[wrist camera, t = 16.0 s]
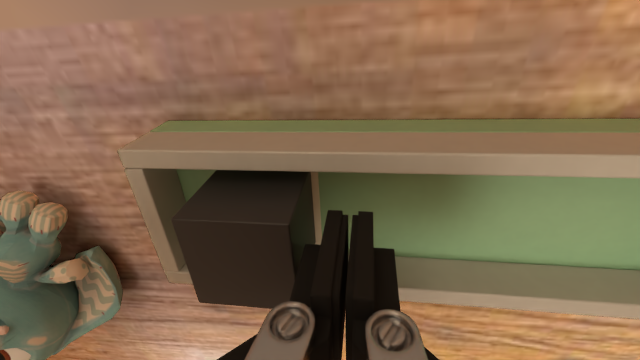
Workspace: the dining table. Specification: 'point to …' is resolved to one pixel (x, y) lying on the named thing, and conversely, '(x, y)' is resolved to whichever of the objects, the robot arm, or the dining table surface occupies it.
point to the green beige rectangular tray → (436, 200)
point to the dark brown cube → (246, 235)
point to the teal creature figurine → (48, 282)
